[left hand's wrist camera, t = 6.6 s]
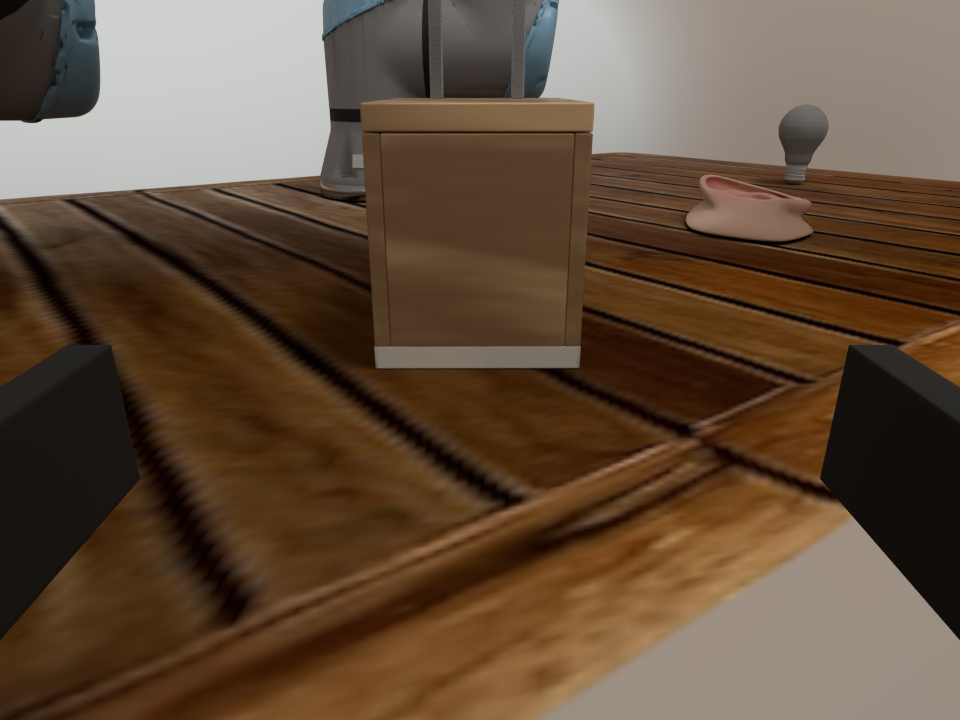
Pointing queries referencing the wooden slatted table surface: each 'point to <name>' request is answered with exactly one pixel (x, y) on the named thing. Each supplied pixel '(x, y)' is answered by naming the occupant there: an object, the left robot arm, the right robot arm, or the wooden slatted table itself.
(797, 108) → the light bulb
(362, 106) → the lid
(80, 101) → the left robot arm
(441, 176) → the chest
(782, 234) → the anatomical model
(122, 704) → the wooden slatted table surface
